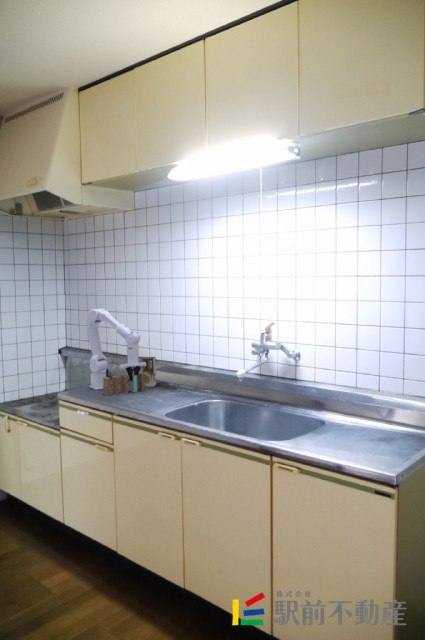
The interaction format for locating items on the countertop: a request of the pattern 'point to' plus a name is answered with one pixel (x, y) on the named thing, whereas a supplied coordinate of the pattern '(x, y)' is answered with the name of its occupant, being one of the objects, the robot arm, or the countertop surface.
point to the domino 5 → (141, 382)
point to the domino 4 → (133, 384)
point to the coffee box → (149, 370)
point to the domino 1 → (107, 386)
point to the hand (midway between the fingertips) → (133, 380)
